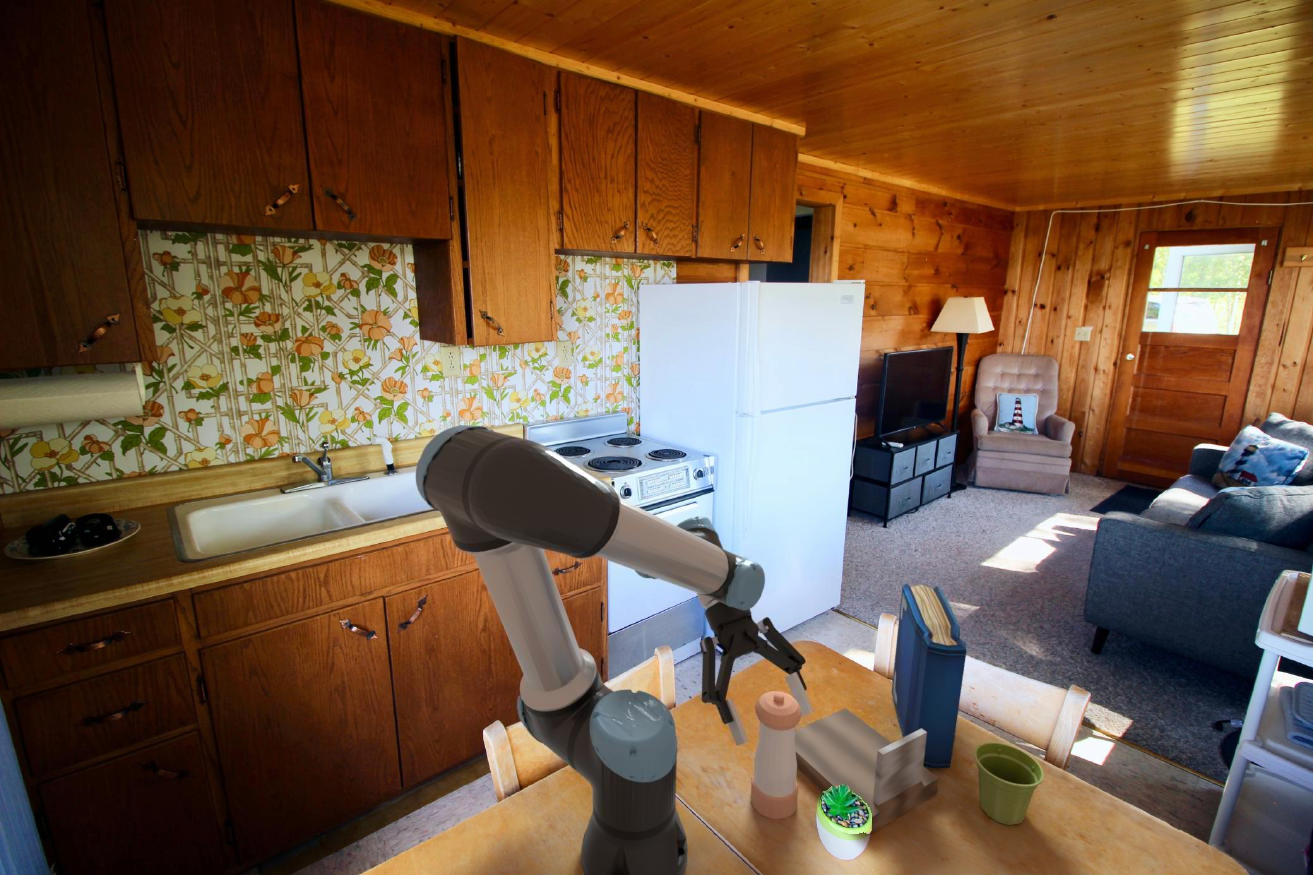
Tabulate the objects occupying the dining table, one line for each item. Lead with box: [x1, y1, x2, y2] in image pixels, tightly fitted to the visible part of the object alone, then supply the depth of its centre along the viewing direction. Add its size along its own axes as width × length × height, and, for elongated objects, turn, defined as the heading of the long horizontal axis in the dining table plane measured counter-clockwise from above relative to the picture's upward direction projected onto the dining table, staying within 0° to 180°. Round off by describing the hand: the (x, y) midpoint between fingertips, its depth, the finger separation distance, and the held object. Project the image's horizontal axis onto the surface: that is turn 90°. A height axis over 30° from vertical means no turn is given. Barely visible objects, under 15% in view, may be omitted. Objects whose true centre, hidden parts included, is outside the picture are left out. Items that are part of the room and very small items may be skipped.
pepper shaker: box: [750, 690, 803, 820], centre depth 96 cm, size 7×7×19 cm
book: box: [891, 583, 968, 770], centre depth 111 cm, size 22×7×25 cm, turn 168°
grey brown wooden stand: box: [795, 707, 940, 834], centre depth 103 cm, size 16×20×12 cm
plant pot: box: [973, 741, 1045, 826], centre depth 95 cm, size 9×9×9 cm
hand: (776, 728), depth 98 cm, fingers open, 13 cm apart
